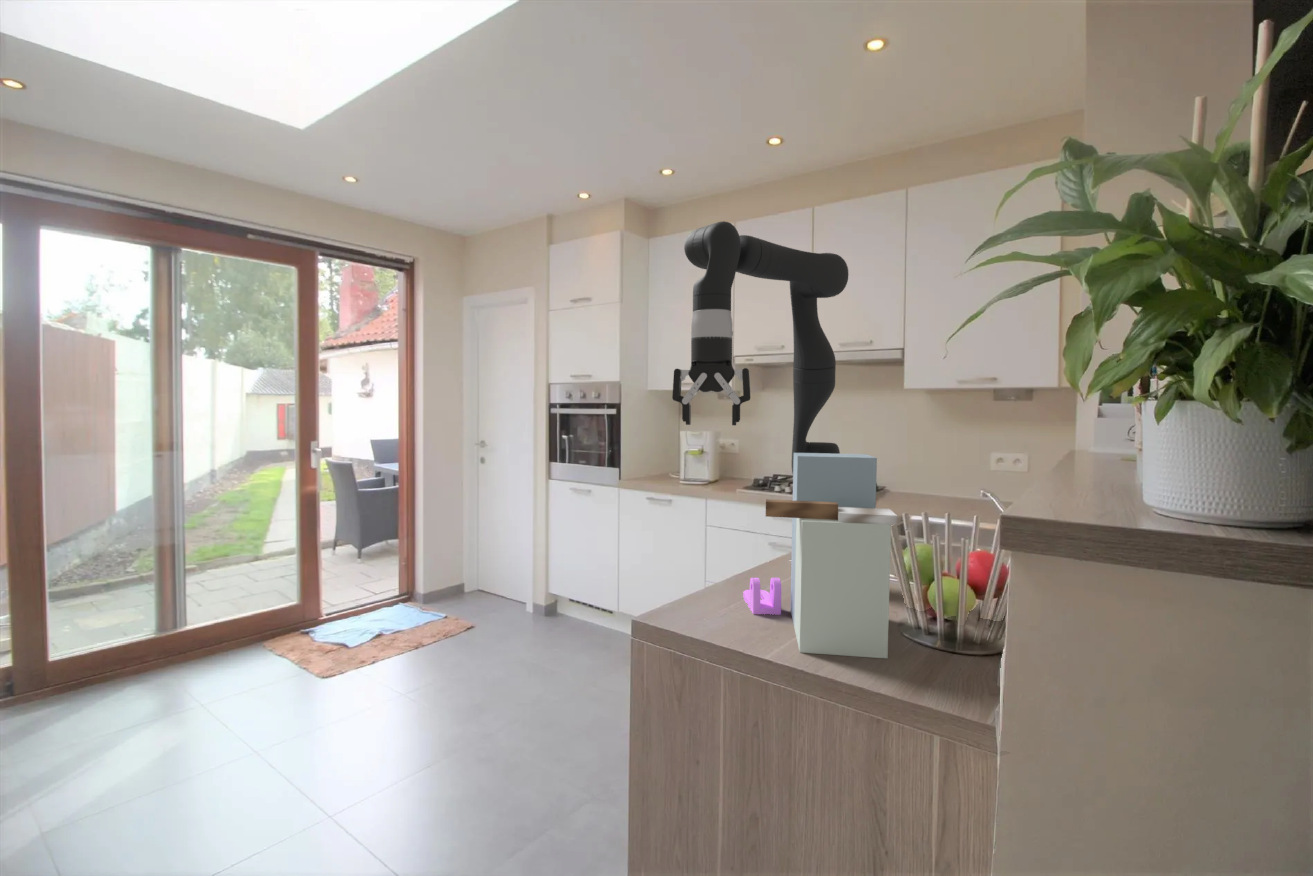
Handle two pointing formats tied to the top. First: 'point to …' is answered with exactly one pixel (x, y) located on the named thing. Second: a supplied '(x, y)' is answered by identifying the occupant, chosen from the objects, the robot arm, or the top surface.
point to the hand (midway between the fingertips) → (711, 424)
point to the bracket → (764, 597)
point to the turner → (829, 512)
